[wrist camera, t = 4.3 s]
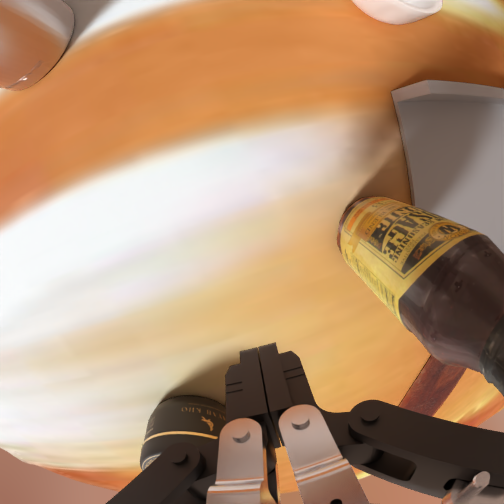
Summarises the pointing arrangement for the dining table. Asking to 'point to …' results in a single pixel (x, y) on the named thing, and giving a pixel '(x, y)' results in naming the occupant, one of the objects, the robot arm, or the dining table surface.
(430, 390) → the wooden tablet
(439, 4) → the teacup
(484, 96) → the tray
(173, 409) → the jar
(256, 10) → the dining table surface
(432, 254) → the sauce bottle
